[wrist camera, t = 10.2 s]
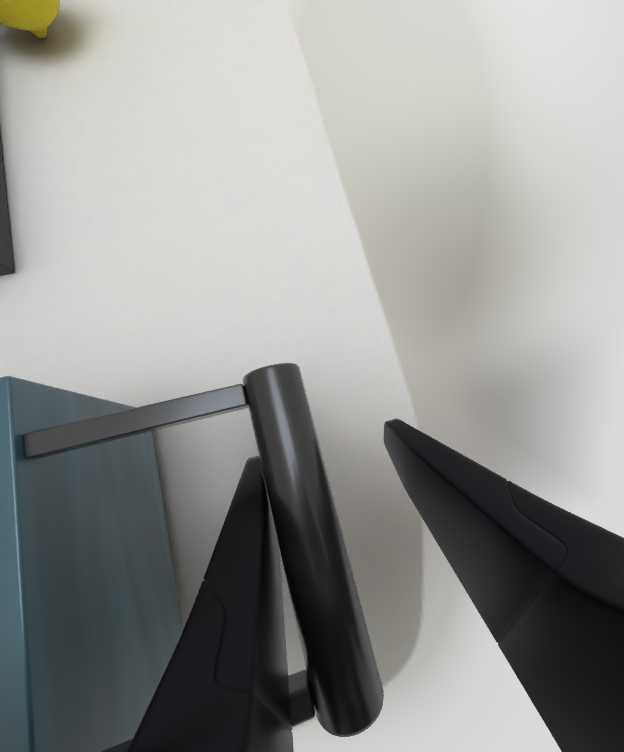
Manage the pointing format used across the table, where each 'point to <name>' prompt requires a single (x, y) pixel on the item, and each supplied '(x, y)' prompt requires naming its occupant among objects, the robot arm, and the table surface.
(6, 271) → the picture frame
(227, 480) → the table surface
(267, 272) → the table surface
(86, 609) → the drawer
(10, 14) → the lemon
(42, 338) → the table surface
